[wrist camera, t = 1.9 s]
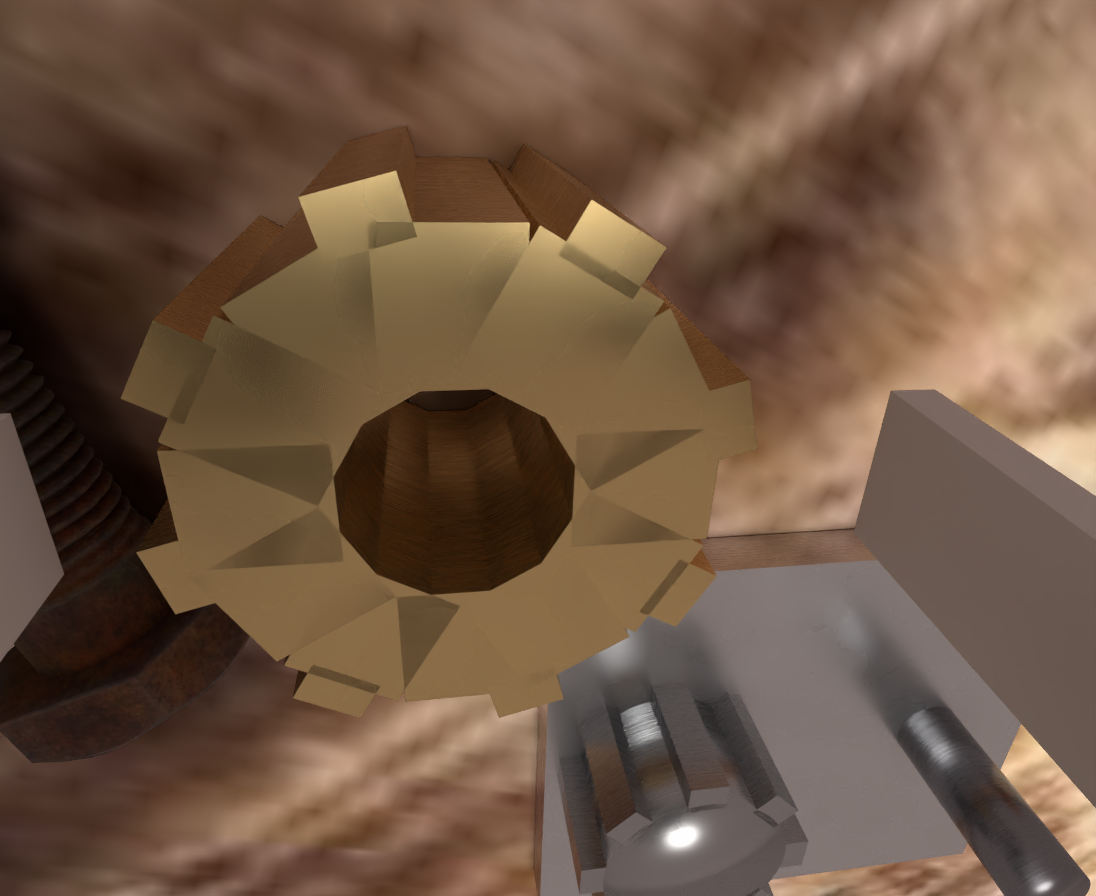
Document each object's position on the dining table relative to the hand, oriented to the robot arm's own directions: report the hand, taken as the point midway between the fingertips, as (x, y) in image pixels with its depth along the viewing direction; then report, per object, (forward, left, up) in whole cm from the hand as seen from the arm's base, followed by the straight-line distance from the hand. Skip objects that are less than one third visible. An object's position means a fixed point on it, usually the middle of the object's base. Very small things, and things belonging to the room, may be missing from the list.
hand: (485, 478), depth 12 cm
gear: (0, 0, -6) cm, 6 cm away
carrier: (+10, -13, -6) cm, 18 cm away
